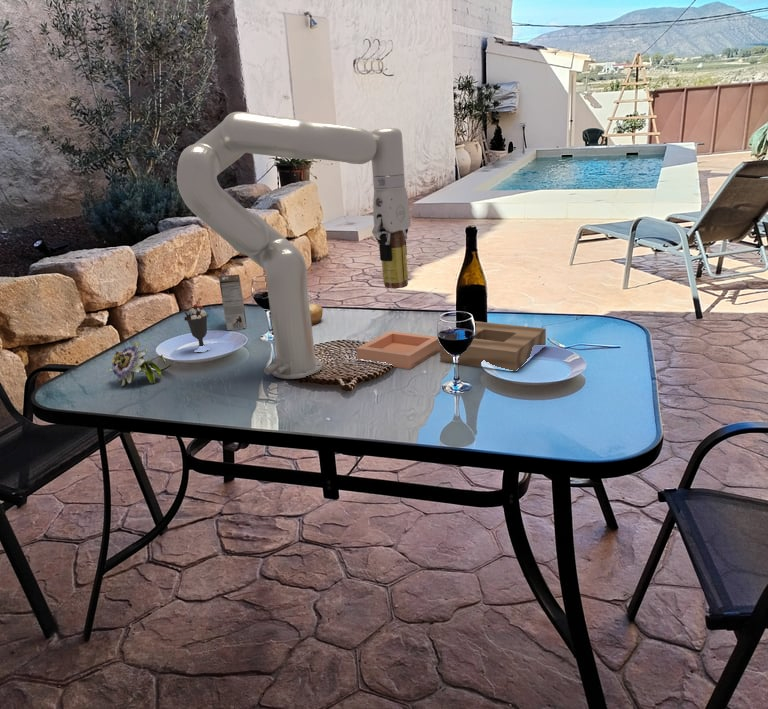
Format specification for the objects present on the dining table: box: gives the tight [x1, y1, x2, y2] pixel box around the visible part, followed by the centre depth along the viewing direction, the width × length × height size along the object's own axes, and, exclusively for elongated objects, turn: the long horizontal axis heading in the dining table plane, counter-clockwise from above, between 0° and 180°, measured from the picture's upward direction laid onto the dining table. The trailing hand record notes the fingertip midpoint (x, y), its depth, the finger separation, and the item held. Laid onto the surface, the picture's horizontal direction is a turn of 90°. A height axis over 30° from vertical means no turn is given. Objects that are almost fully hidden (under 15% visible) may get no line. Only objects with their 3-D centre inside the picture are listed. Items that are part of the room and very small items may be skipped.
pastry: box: [308, 294, 324, 326], centre depth 198 cm, size 12×12×9 cm
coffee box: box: [218, 274, 248, 331], centre depth 198 cm, size 9×6×16 cm
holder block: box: [439, 320, 547, 371], centre depth 158 cm, size 20×20×5 cm
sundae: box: [184, 297, 209, 347], centre depth 177 cm, size 7×7×15 cm
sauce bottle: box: [381, 229, 409, 290], centre depth 154 cm, size 7×6×20 cm
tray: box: [355, 330, 440, 370], centre depth 162 cm, size 16×16×4 cm
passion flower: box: [108, 341, 167, 387], centre depth 157 cm, size 11×11×12 cm
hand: (393, 257), depth 154 cm, fingers closed on sauce bottle, 5 cm apart
